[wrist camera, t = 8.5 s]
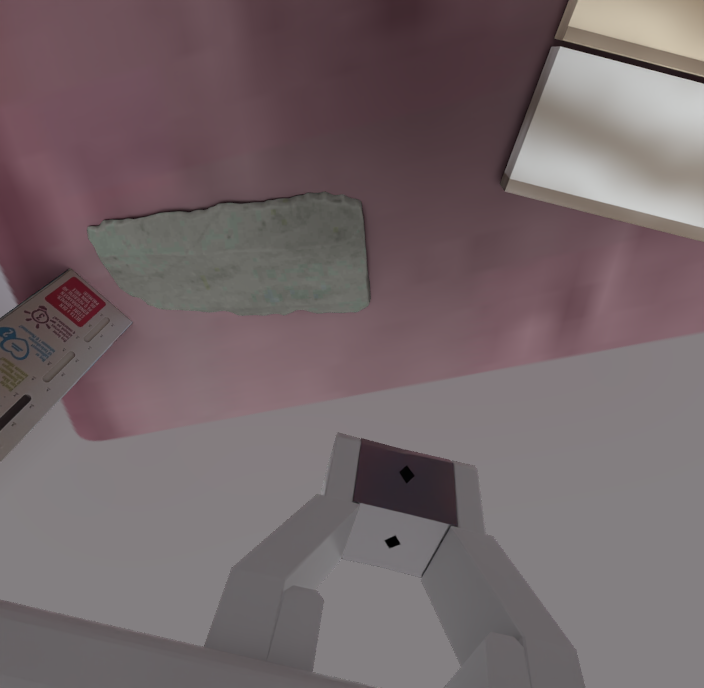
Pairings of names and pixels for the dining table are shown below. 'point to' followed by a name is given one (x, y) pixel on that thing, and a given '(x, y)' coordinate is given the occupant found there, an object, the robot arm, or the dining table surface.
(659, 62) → the thin beige board
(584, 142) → the board
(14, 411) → the carton
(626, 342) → the dining table surface
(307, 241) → the stone slab
